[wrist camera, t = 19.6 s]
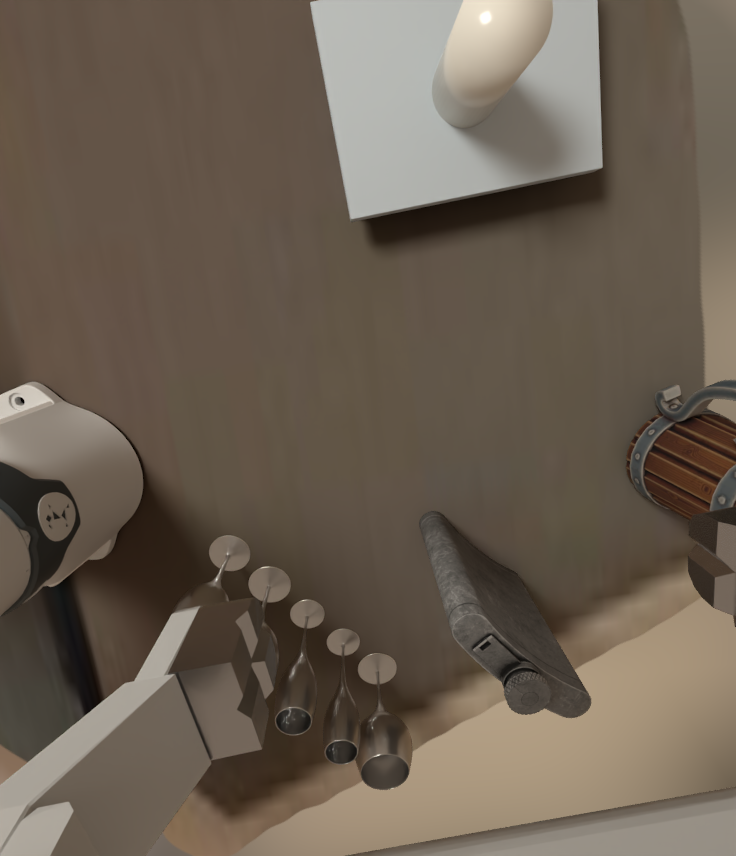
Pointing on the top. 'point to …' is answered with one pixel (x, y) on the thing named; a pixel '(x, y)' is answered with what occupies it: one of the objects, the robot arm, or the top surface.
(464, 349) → the top surface
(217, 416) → the top surface
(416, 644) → the top surface
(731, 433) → the mug
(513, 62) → the white rounded cylinder
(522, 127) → the shelf
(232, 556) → the goblet set
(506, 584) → the flask
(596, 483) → the top surface
